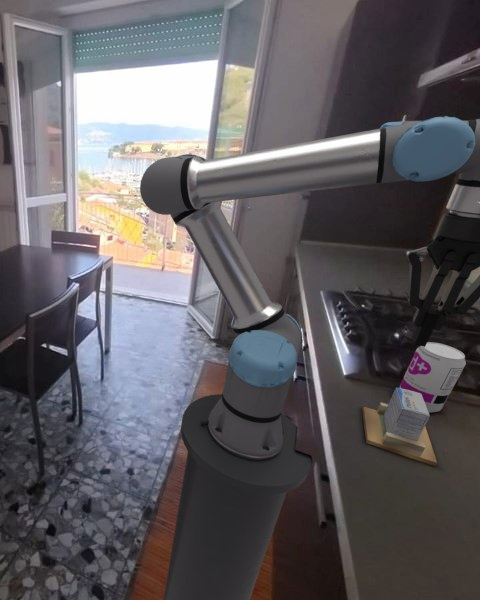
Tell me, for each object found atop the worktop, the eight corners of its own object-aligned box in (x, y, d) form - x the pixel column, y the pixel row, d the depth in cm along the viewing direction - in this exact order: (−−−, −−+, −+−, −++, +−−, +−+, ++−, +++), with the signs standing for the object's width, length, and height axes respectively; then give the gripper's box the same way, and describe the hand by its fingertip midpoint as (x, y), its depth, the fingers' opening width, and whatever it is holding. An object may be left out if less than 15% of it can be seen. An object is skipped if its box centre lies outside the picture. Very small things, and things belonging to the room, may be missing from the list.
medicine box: (414, 448, 72) (431, 415, 69) (386, 439, 75) (402, 407, 71) (407, 424, 78) (422, 393, 75) (381, 416, 81) (395, 386, 77)
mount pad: (366, 443, 75) (371, 430, 74) (362, 409, 84) (367, 398, 83) (435, 466, 70) (442, 453, 68) (423, 427, 79) (429, 415, 77)
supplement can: (405, 410, 84) (430, 357, 78) (390, 388, 91) (412, 338, 85) (447, 417, 82) (478, 363, 75) (429, 395, 89) (455, 344, 82)
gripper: (427, 214, 56) (376, 341, 66) (549, 223, 50) (473, 363, 60) (418, 206, 62) (372, 325, 72) (527, 214, 56) (460, 343, 65)
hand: (418, 342), depth 66 cm, fingers closed
